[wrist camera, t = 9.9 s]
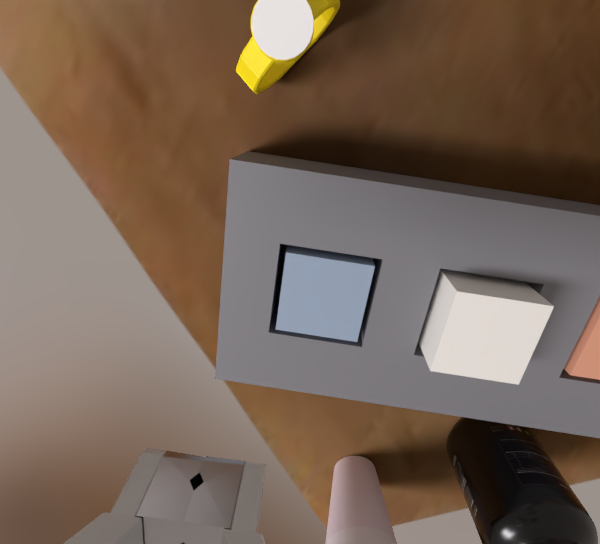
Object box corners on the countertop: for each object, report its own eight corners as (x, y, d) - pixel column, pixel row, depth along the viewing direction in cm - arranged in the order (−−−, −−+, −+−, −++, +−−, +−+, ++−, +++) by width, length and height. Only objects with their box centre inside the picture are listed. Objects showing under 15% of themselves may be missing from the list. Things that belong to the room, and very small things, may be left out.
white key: (413, 330, 25) (430, 371, 21) (434, 260, 23) (457, 291, 19) (487, 341, 25) (518, 384, 21) (514, 273, 23) (554, 306, 19)
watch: (312, -12, 21) (316, -67, 15) (344, 31, 22) (359, -7, 16) (236, 70, 22) (213, 46, 17) (268, 108, 23) (257, 98, 17)
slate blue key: (282, 297, 27) (275, 329, 23) (292, 230, 25) (285, 252, 21) (352, 308, 27) (357, 342, 23) (366, 241, 25) (375, 266, 21)
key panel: (232, 337, 29) (215, 378, 25) (248, 150, 24) (229, 159, 19) (614, 396, 29) (668, 449, 25) (715, 223, 24) (809, 248, 19)
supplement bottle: (505, 475, 33) (596, 656, 22) (431, 456, 33) (486, 630, 22) (545, 418, 31) (671, 589, 19) (466, 396, 30) (547, 558, 19)
